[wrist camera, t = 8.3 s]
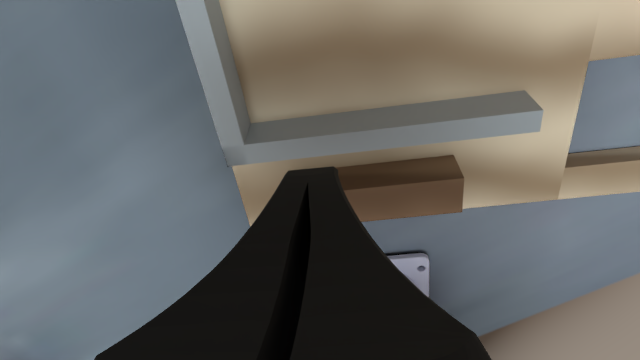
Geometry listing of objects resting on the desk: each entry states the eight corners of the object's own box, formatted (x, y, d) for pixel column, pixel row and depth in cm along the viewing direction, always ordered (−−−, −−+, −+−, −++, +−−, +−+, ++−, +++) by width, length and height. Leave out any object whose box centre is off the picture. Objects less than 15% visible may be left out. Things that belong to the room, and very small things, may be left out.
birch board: (734, 167, 23) (752, 180, 22) (254, 215, 25) (251, 229, 24) (964, -298, 13) (1016, -312, 12) (147, -148, 15) (135, -150, 14)
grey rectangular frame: (522, 110, 20) (539, 131, 18) (235, 144, 21) (227, 166, 19) (567, -208, 13) (601, -220, 12) (154, -134, 15) (132, -136, 13)
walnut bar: (450, 216, 23) (460, 242, 22) (305, 231, 24) (304, 256, 22) (453, 154, 21) (464, 178, 19) (293, 172, 22) (290, 195, 20)
